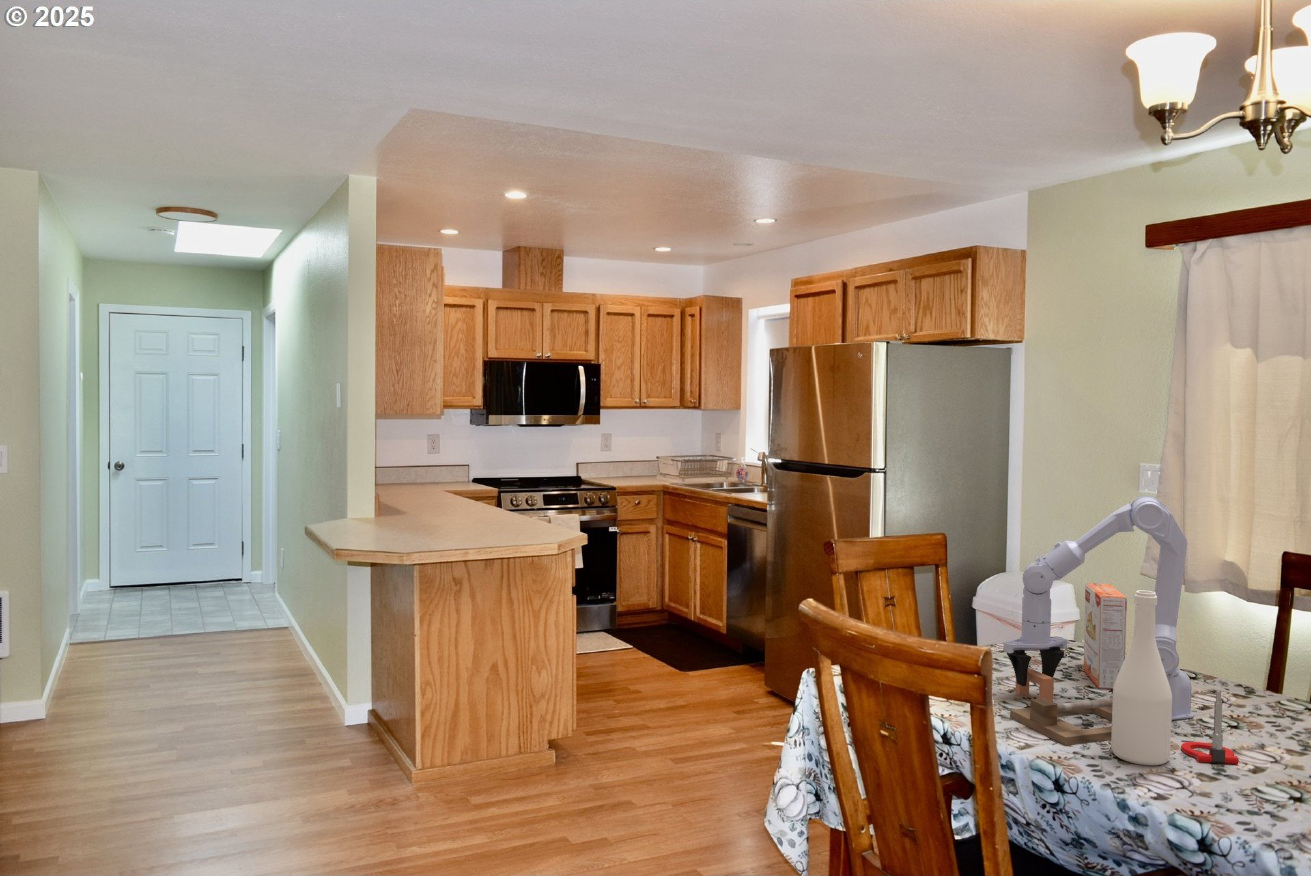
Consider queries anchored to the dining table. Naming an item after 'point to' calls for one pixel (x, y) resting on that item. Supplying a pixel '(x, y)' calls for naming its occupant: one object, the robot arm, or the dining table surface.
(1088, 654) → the cracker box
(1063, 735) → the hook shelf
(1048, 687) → the wooden arch block
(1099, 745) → the dining table surface
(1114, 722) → the wine bottle
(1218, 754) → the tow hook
